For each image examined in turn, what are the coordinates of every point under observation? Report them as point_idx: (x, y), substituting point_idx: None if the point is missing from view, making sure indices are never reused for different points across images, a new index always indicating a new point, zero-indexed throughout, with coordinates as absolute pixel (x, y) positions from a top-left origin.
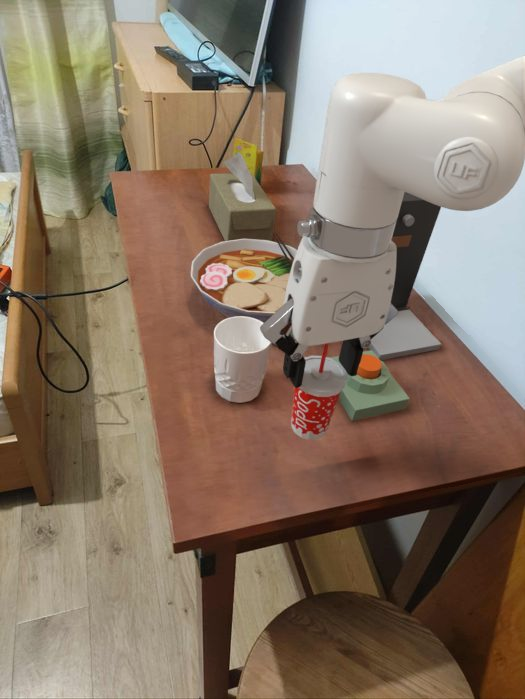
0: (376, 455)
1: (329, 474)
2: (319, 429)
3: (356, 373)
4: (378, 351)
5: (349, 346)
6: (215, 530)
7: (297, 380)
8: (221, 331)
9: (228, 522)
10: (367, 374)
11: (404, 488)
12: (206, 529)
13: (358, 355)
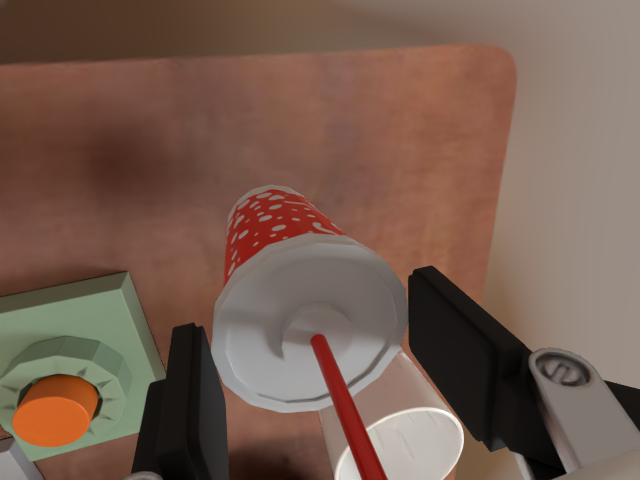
0: (84, 173)
1: (217, 135)
2: (270, 194)
3: (173, 334)
4: (11, 460)
5: (215, 469)
6: (466, 44)
7: (451, 283)
8: (423, 460)
9: (441, 56)
10: (65, 386)
11: (24, 65)
12: (479, 50)
13: (181, 418)
